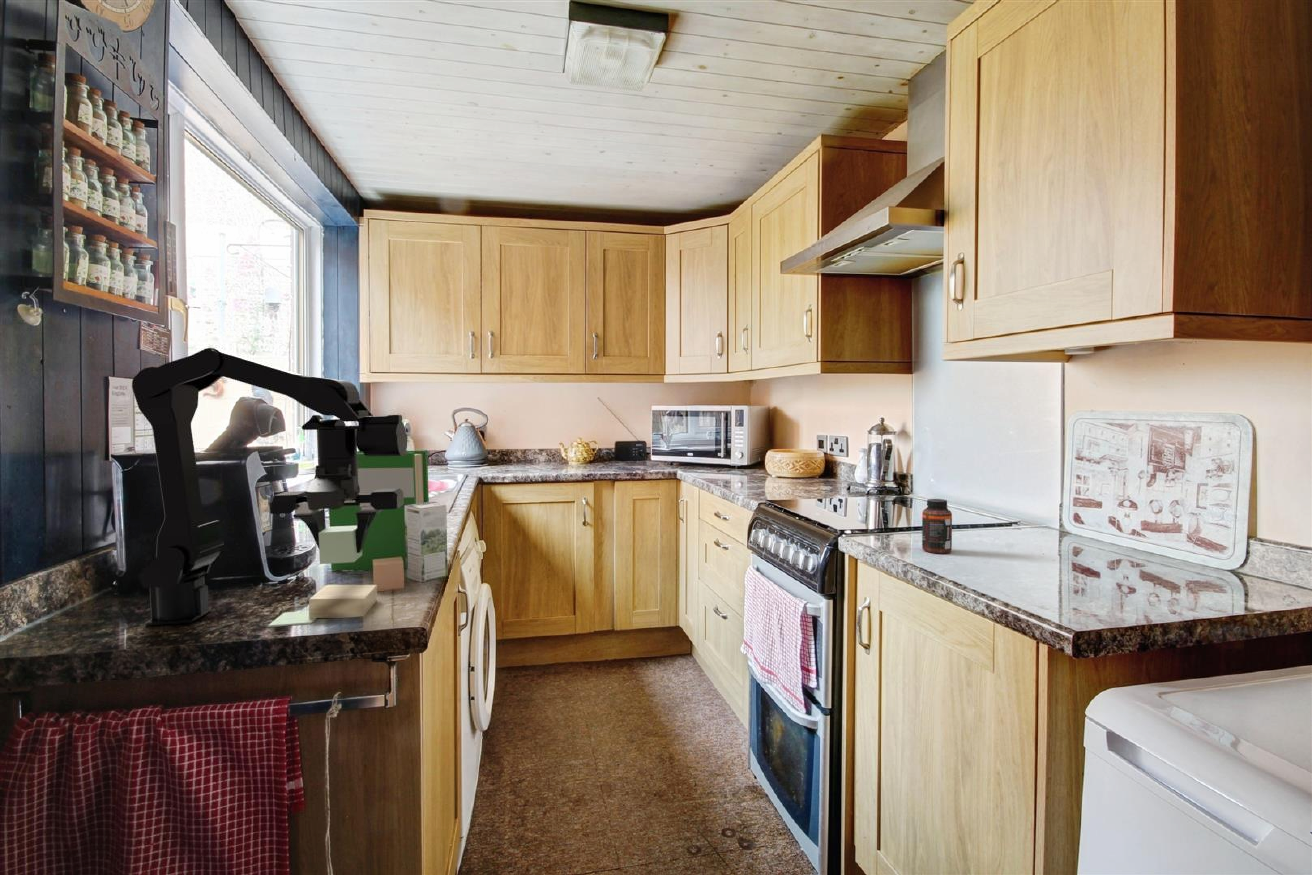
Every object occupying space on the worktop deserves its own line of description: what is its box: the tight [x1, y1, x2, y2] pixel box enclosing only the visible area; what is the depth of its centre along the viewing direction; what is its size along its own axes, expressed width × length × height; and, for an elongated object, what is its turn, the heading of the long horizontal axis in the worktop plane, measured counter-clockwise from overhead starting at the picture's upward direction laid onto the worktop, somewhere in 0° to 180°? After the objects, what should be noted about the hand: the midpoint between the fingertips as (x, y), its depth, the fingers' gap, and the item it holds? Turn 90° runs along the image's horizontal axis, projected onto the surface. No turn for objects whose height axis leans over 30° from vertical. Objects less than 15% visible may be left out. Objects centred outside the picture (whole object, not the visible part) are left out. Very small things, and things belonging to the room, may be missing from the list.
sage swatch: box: [268, 610, 318, 628], centre depth 99 cm, size 6×6×1 cm
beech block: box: [308, 584, 378, 619], centre depth 103 cm, size 8×8×3 cm
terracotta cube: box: [372, 557, 405, 592], centre depth 116 cm, size 5×5×5 cm
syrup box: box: [404, 501, 449, 583], centre depth 122 cm, size 6×6×14 cm
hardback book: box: [328, 450, 430, 570], centre depth 131 cm, size 18×7×24 cm, turn 88°
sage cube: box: [318, 526, 362, 565], centre depth 102 cm, size 5×5×5 cm
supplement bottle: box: [921, 498, 953, 554], centre depth 138 cm, size 6×6×11 cm
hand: (341, 553), depth 102 cm, fingers closed on sage cube, 5 cm apart
